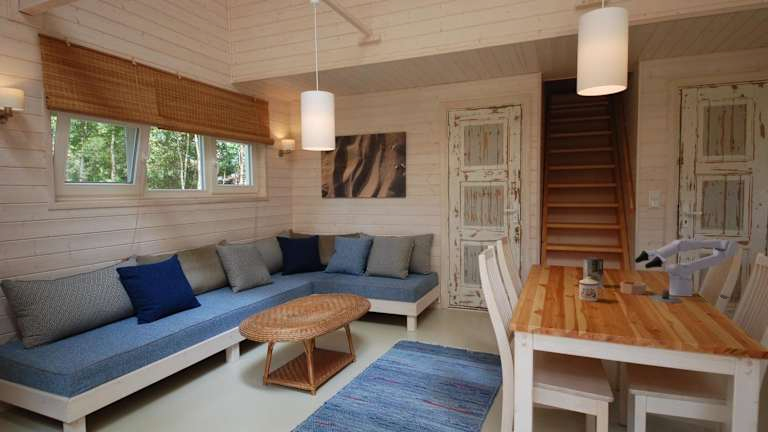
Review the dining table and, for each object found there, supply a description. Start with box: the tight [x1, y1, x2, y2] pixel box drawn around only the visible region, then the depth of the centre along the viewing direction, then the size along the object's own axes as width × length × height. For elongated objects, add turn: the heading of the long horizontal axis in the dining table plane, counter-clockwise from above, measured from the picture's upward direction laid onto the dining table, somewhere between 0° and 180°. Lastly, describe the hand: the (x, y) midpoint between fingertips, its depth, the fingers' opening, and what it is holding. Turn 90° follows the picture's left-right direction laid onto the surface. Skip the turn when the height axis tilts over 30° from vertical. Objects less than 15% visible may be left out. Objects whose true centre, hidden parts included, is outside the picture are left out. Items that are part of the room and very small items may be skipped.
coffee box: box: [582, 256, 604, 287], centre depth 250 cm, size 9×6×16 cm
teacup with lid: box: [578, 277, 606, 302], centre depth 220 cm, size 12×9×12 cm
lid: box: [650, 289, 682, 304], centre depth 219 cm, size 13×13×5 cm
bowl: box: [619, 280, 647, 296], centre depth 234 cm, size 11×11×5 cm
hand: (640, 264), depth 227 cm, fingers open, 7 cm apart
